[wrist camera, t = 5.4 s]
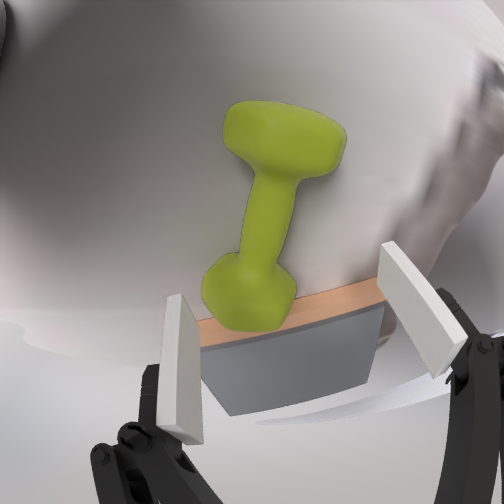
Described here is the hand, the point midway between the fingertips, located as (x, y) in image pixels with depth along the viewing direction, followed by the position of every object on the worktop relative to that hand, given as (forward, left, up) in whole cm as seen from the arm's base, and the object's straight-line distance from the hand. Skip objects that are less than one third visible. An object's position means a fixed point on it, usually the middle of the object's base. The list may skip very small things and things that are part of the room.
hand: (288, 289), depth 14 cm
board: (+25, 0, -10) cm, 28 cm away
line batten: (+12, 0, -10) cm, 16 cm away
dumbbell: (0, 0, -11) cm, 11 cm away
